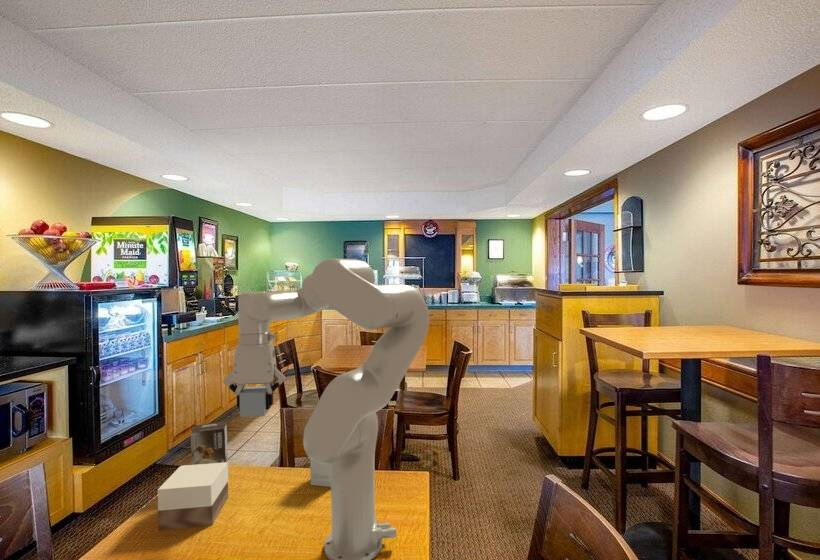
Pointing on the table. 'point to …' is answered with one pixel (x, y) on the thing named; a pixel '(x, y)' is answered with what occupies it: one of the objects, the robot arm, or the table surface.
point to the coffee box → (209, 443)
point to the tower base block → (193, 514)
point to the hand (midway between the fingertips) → (255, 407)
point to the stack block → (253, 401)
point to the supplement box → (320, 474)
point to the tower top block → (193, 486)
